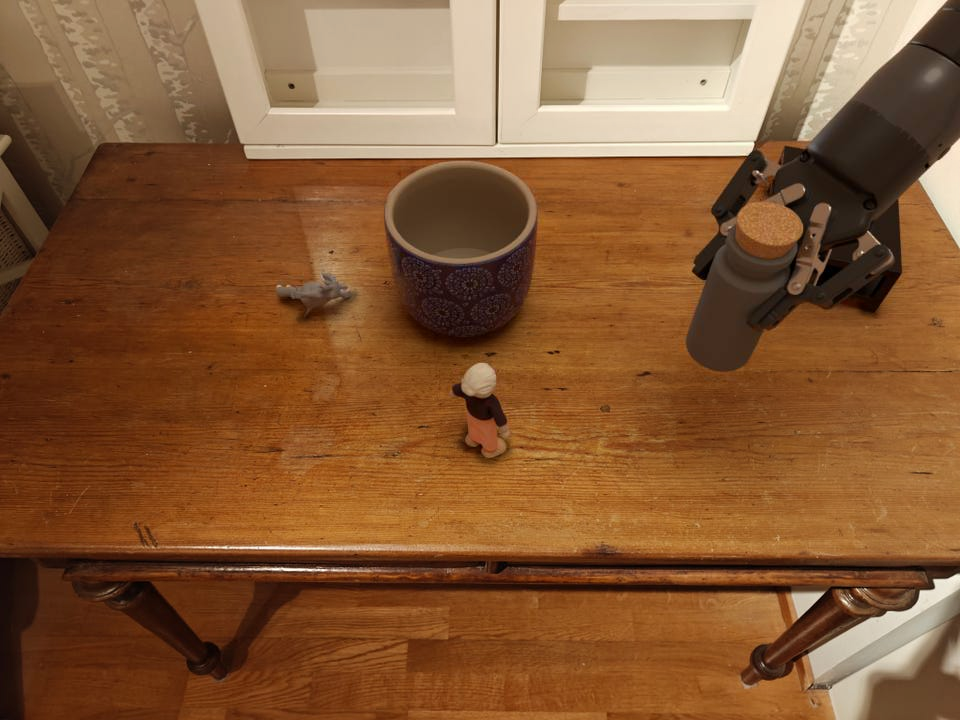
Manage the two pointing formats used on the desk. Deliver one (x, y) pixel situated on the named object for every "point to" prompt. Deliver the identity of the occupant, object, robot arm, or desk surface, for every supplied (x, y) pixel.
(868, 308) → the stand
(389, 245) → the planter
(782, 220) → the bottle
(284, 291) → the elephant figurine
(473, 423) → the grandmother figurine
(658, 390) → the desk surface
